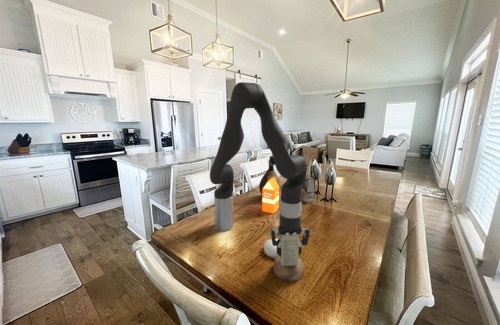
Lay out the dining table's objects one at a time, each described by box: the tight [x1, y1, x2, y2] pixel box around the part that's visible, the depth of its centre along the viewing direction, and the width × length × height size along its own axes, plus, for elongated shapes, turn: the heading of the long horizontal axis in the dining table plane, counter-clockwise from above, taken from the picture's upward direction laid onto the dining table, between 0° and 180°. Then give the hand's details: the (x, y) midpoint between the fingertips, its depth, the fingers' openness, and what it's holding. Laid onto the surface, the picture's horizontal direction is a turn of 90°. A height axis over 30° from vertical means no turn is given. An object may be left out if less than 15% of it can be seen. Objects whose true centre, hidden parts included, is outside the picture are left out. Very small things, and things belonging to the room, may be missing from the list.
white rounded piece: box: [263, 238, 279, 259], centre depth 88 cm, size 10×10×2 cm
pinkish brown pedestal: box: [273, 256, 305, 283], centre depth 77 cm, size 11×11×3 cm
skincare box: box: [279, 233, 300, 266], centre depth 75 cm, size 6×4×12 cm
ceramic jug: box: [258, 155, 282, 195], centre depth 146 cm, size 17×15×30 cm
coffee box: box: [301, 175, 316, 203], centre depth 142 cm, size 9×6×16 cm
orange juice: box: [261, 177, 280, 214], centre depth 127 cm, size 8×9×20 cm
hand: (288, 254), depth 76 cm, fingers closed on skincare box, 6 cm apart
